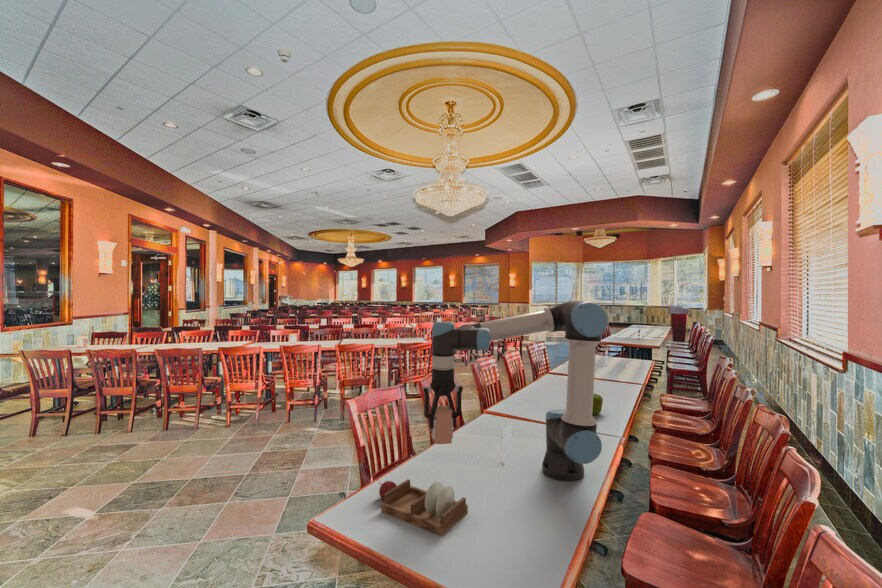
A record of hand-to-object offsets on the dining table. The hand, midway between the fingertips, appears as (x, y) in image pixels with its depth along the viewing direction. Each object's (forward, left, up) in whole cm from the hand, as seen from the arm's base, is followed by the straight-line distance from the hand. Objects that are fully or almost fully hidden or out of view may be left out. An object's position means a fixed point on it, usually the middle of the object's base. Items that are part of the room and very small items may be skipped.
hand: (442, 437), depth 129 cm
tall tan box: (0, 0, -1) cm, 1 cm away
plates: (-6, +11, -19) cm, 23 cm away
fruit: (+16, +10, -20) cm, 28 cm away
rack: (0, +11, -20) cm, 23 cm away
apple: (-19, -121, -20) cm, 124 cm away
